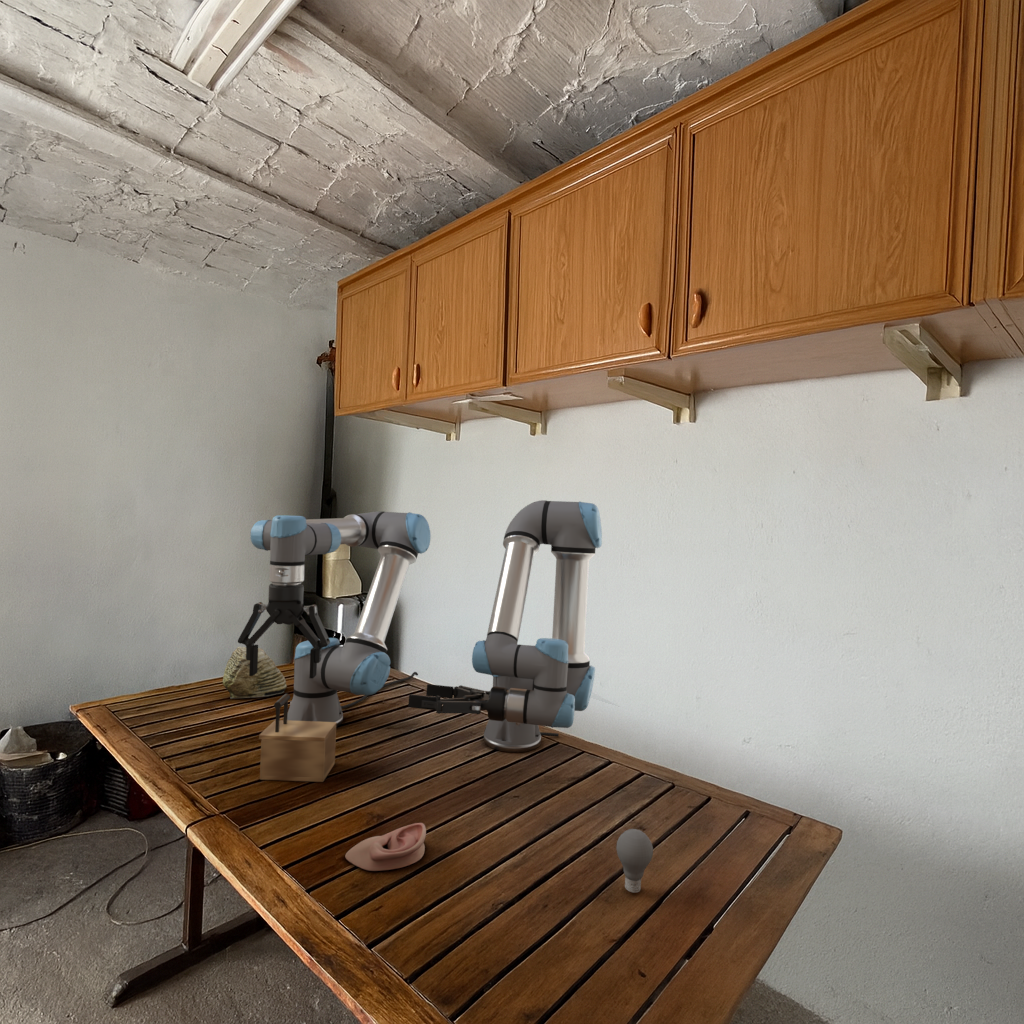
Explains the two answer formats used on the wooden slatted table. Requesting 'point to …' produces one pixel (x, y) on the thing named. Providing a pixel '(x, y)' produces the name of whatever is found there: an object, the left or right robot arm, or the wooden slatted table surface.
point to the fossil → (252, 686)
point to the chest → (297, 759)
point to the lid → (295, 727)
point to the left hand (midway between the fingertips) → (283, 675)
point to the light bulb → (634, 857)
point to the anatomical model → (390, 849)
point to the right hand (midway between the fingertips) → (418, 695)
